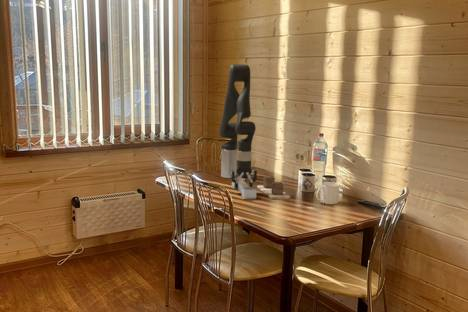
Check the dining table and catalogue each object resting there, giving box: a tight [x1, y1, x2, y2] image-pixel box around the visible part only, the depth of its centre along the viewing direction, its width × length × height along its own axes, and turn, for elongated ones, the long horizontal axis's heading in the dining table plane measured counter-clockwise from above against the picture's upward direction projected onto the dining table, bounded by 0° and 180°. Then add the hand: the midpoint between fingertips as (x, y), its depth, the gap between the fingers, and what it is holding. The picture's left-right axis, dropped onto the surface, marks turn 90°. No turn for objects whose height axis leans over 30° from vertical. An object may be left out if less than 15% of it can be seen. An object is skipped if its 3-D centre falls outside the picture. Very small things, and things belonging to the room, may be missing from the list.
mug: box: [315, 181, 340, 205], centre depth 230 cm, size 12×9×9 cm
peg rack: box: [256, 175, 291, 200], centre depth 246 cm, size 26×10×7 cm, turn 14°
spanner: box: [231, 177, 257, 200], centre depth 244 cm, size 26×6×5 cm, turn 14°
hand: (243, 189), depth 244 cm, fingers open, 7 cm apart
